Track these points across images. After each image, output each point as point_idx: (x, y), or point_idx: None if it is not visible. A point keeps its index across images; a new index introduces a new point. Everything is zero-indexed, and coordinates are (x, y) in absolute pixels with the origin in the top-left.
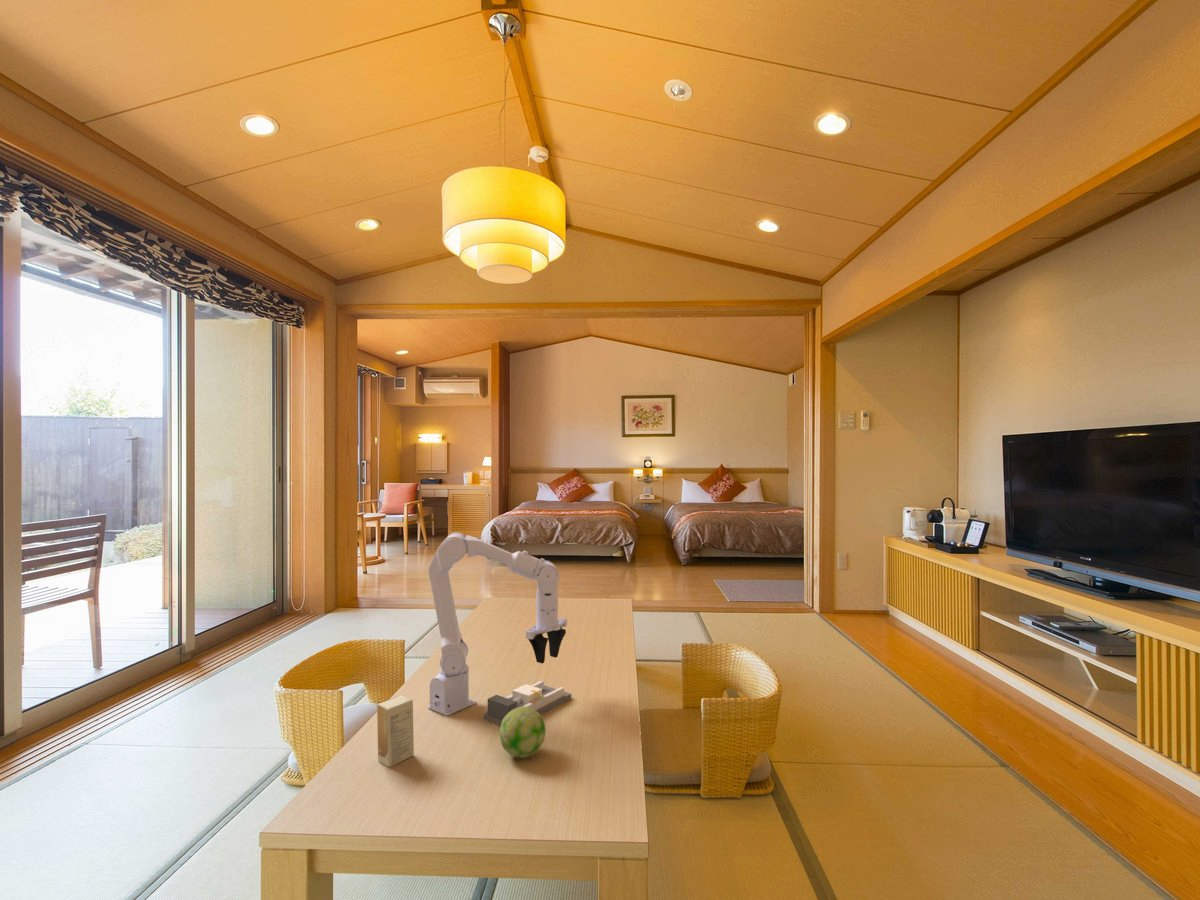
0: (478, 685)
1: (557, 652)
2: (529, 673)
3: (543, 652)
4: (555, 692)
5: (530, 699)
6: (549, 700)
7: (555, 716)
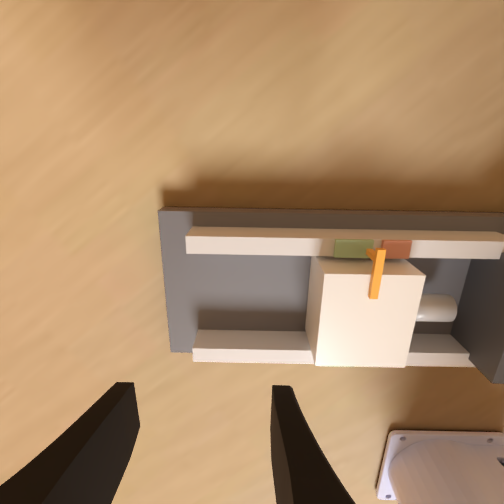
0: None
1: (107, 407)
2: None
3: (316, 460)
4: (249, 236)
5: (400, 266)
6: (290, 231)
7: (340, 149)
